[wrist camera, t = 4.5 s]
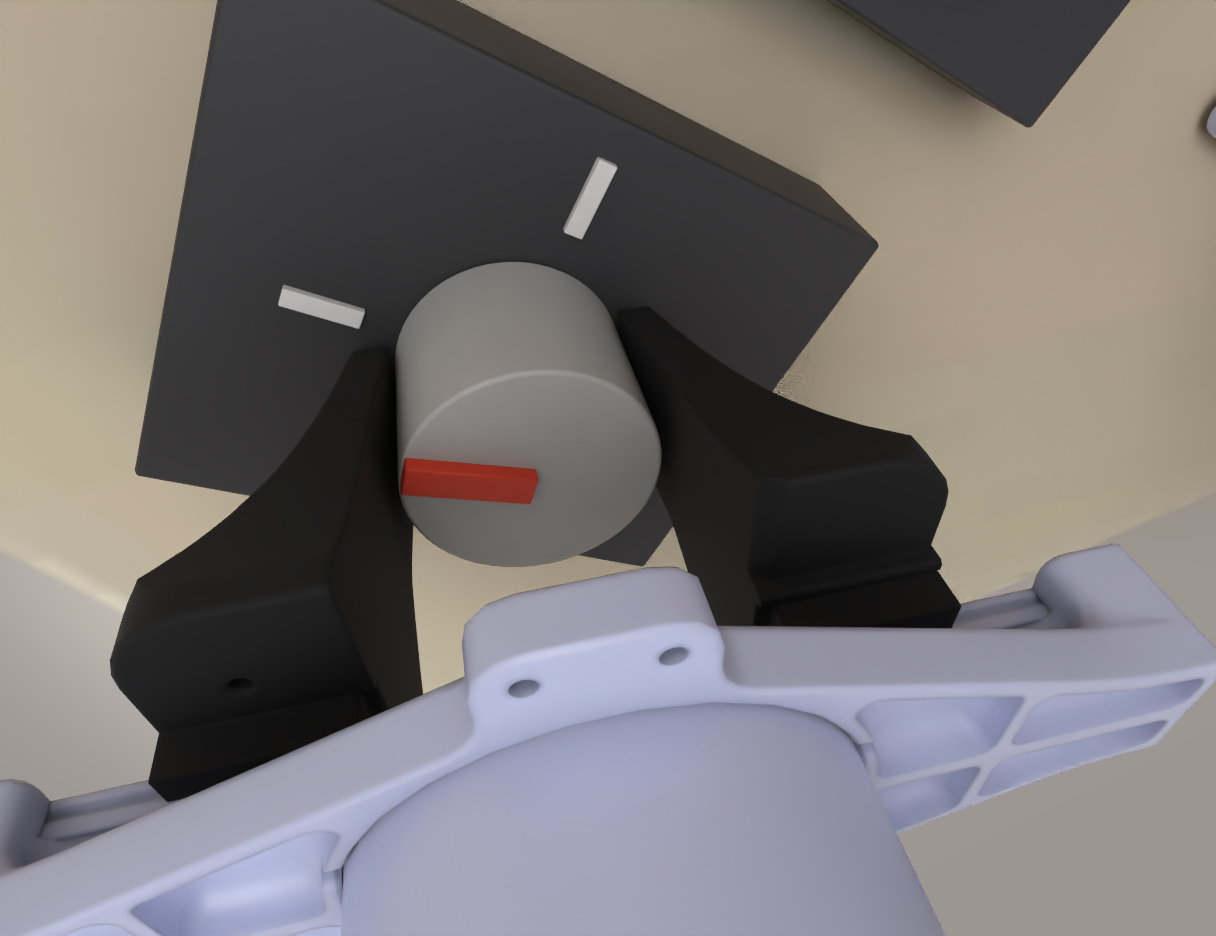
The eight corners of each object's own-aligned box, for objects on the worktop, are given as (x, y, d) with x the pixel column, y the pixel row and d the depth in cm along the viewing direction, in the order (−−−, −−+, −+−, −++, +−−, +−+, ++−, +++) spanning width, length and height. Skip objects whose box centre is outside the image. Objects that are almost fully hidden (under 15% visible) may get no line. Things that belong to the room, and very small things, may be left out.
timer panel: (820, 185, 18) (886, 248, 15) (619, 491, 23) (645, 572, 21) (255, -103, 12) (228, -71, 10) (163, 387, 17) (131, 482, 15)
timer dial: (647, 283, 15) (707, 402, 12) (582, 455, 17) (620, 585, 15) (412, 238, 13) (421, 364, 10) (381, 435, 16) (382, 577, 13)
